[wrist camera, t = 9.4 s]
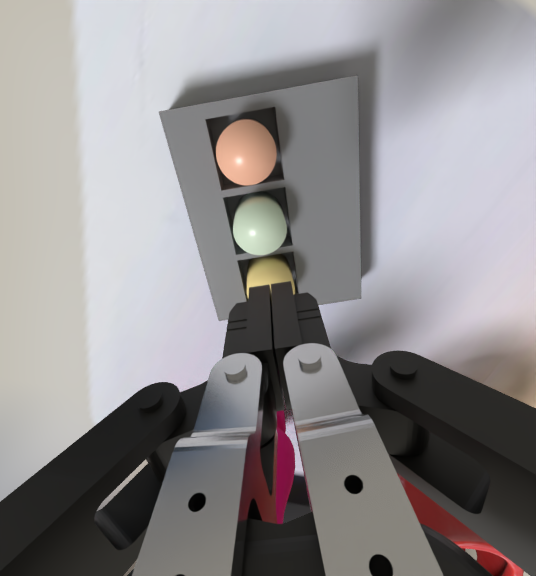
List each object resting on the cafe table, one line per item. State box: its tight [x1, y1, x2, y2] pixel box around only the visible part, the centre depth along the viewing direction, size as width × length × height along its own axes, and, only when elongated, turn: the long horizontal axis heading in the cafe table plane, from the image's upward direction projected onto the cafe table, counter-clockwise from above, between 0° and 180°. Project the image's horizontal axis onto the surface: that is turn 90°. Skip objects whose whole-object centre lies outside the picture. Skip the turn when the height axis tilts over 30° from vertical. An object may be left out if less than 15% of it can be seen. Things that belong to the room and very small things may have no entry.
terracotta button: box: [216, 118, 277, 185], centre depth 17 cm, size 3×3×3 cm
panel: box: [159, 75, 361, 321], centre depth 20 cm, size 10×13×2 cm
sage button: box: [233, 191, 287, 255], centre depth 19 cm, size 3×3×3 cm
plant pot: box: [396, 472, 524, 576], centre depth 28 cm, size 13×13×12 cm
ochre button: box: [247, 254, 295, 297], centre depth 21 cm, size 3×3×3 cm
